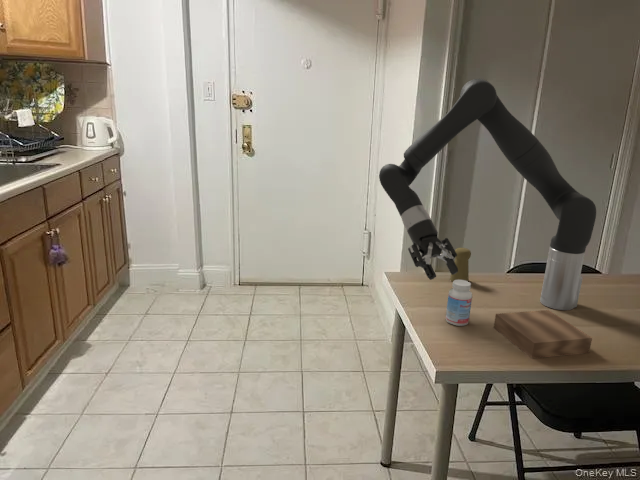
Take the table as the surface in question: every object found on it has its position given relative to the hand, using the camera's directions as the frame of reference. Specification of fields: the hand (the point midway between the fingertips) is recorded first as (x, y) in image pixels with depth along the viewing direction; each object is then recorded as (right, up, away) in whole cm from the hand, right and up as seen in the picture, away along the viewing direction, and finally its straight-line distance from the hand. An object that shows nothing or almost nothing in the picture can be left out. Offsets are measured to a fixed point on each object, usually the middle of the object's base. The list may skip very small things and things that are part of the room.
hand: (444, 275), depth 139 cm
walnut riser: (+22, -15, -10) cm, 28 cm away
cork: (+12, -4, +28) cm, 31 cm away
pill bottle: (+3, -12, -2) cm, 13 cm away
